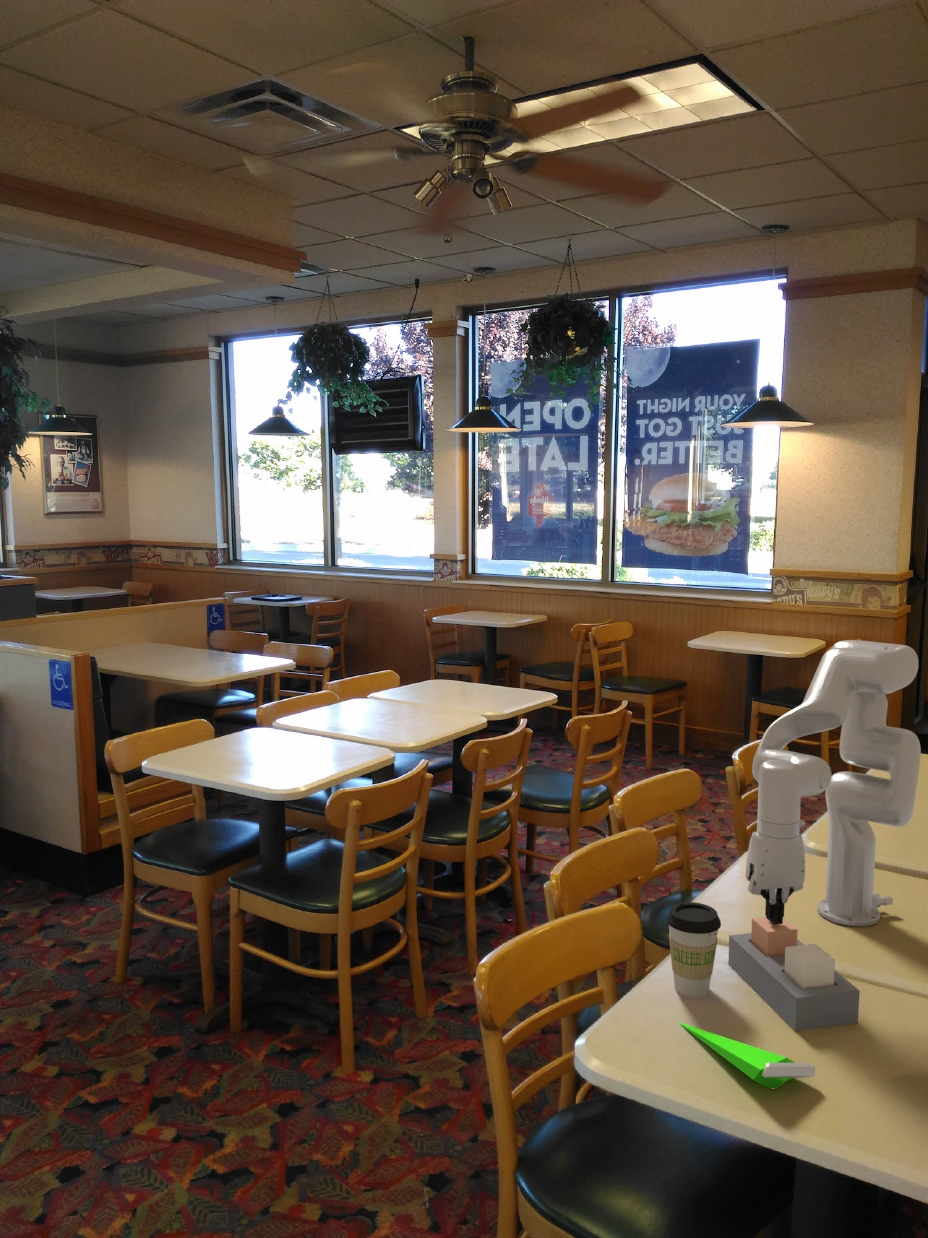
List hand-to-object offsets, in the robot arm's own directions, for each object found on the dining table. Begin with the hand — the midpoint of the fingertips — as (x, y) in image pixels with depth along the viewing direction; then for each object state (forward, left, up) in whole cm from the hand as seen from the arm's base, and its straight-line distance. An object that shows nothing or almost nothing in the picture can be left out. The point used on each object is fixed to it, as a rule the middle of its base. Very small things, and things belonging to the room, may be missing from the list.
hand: (774, 921), depth 181 cm
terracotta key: (0, 0, -7) cm, 7 cm away
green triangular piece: (+21, +24, -12) cm, 34 cm away
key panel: (0, +6, -11) cm, 13 cm away
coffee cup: (+17, +1, -11) cm, 20 cm away
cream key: (0, +12, -7) cm, 14 cm away
